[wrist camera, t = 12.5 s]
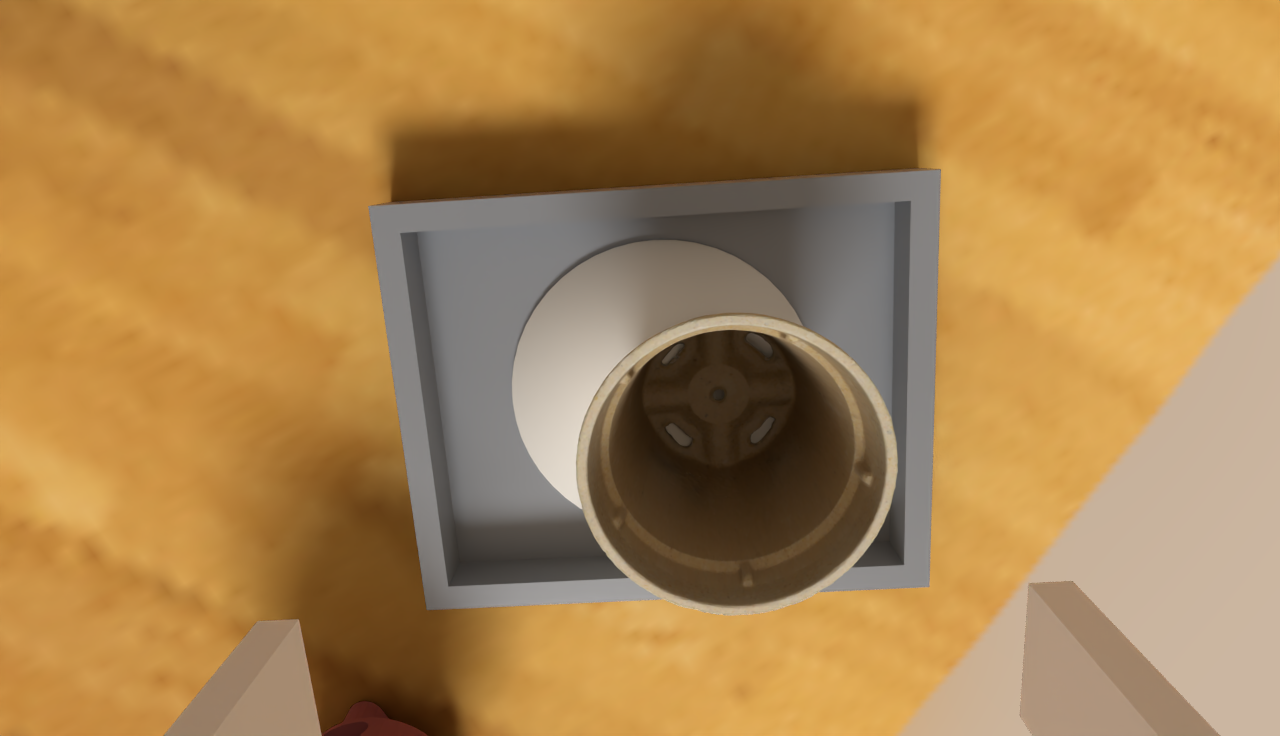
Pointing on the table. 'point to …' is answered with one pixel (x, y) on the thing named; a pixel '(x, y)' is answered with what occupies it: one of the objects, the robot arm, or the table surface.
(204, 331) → the table surface
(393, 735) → the mechanical component
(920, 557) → the housing tray
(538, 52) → the table surface
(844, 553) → the flower pot
